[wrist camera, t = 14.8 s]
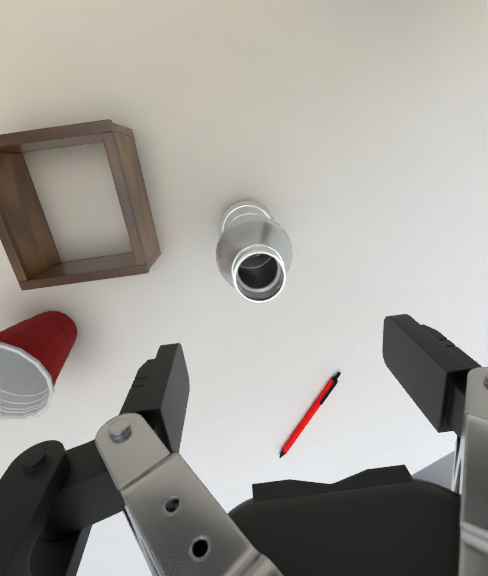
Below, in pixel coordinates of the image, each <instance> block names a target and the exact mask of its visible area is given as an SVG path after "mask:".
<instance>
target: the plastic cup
mask: <svg viewBox="0 0 488 576" xmlns="http://www.w3.org/2000/svg"><path fill="white" fill-rule="evenodd" d="M76 335H77V329H76V326H75V324H74V322H73V321H72V320H71V319H70V318H69V317H68V316H66V315H65V314H62V313H60V312H55V311H48V312H44V313H41V314H38V315H36V316H34V317H32V318H30V319H27V320H24V321H22V322H20V323H18V324H16V325H14V326H11V327H9V328H7V329H5V330H3V331H1V332H0V420H10V421H23V420H27V419H30V418H34V417H37V416H39V415H40V414H42V413H43V412H44V411H45V410H46V409H47V408H49V407H50V404H51V400H52V397H53V394H54V385H55V382H56V379H57V377H58V375H59V373H60V371H61V369H62V367H63V365H64V363H65V361H66V359H67V357H68V355H69V352H70V350H71V348H72V346H73V344H74V342H75V339H76Z"/></svg>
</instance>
